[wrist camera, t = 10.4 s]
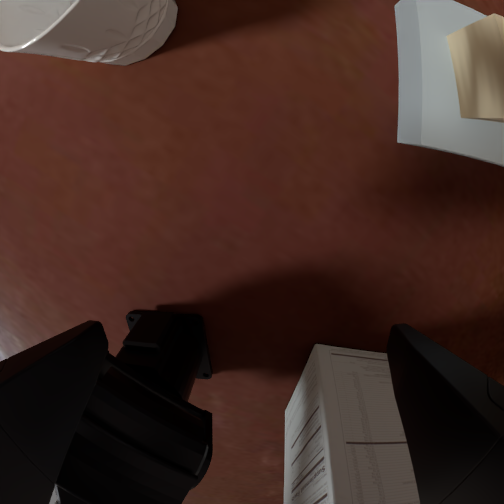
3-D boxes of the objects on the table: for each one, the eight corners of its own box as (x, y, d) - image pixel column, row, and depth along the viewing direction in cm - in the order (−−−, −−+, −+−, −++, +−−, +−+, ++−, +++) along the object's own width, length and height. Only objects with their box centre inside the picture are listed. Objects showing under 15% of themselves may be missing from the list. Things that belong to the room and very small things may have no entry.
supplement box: (282, 411, 26) (272, 577, 10) (312, 340, 23) (327, 561, 7) (371, 420, 26) (395, 565, 10) (414, 354, 23) (479, 524, 7)
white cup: (202, 39, 15) (135, -30, 6) (101, 93, 17) (-6, 85, 8) (168, -37, 13) (105, -108, 4) (78, 16, 15) (-12, -15, 5)
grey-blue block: (502, 166, 16) (534, 175, 13) (394, 142, 17) (420, 145, 14) (500, 48, 13) (530, 41, 9) (392, 8, 14) (413, -14, 10)
